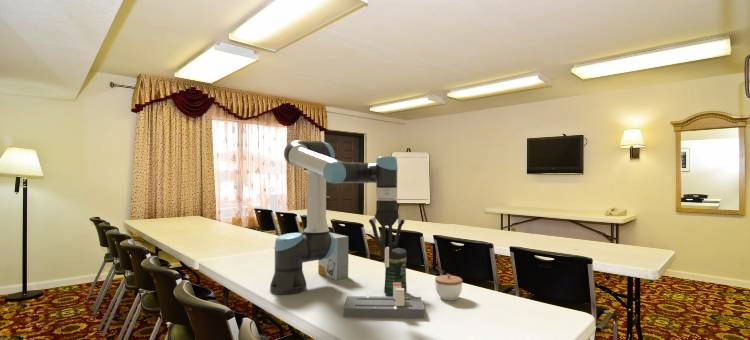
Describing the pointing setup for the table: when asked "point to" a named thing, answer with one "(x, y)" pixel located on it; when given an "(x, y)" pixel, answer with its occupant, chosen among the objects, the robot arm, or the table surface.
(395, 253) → the coffee jar
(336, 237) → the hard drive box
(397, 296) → the fader front
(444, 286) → the lidded jar
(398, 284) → the block
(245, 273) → the table surface
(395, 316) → the console
